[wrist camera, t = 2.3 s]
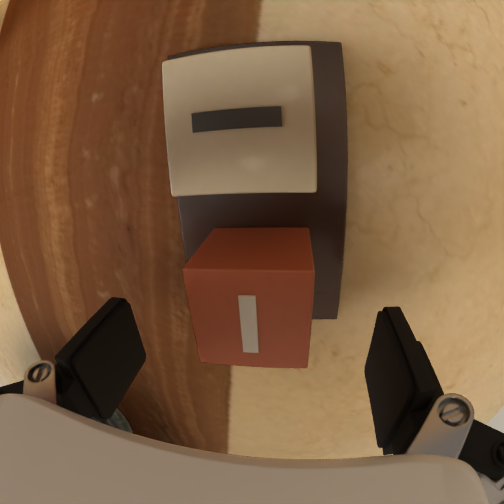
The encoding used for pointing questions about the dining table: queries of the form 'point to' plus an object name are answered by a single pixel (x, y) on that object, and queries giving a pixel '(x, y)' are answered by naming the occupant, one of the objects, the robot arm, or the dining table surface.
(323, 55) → the board
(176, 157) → the cream slotted block
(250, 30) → the dining table surface
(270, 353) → the red slotted cube
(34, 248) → the dining table surface
